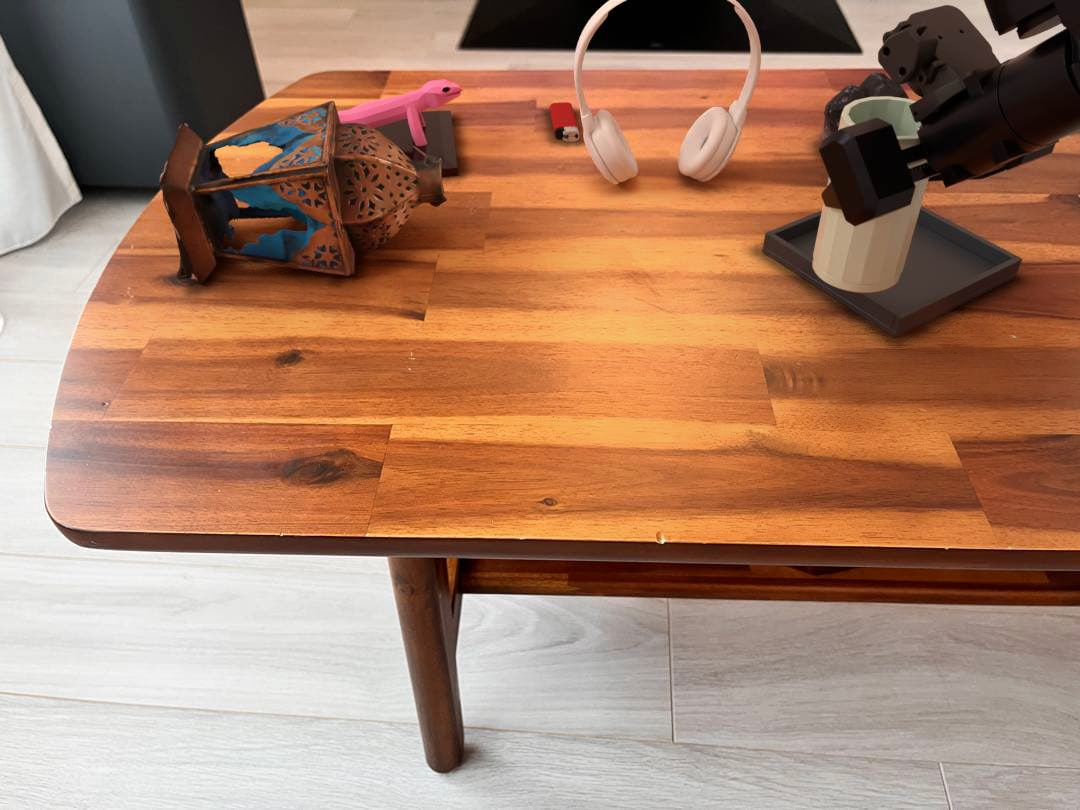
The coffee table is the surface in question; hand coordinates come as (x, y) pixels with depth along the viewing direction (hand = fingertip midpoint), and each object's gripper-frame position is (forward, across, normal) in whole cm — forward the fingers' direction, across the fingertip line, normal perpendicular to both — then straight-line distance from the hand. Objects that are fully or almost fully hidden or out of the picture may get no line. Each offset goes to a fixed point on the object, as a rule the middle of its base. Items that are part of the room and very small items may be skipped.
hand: (860, 187), depth 70 cm
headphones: (+29, -2, -11) cm, 31 cm away
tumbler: (+4, 0, +6) cm, 7 cm away
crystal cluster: (+23, -26, -5) cm, 35 cm away
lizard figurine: (+44, +21, -26) cm, 56 cm away
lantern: (+32, +35, -14) cm, 50 cm away
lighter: (+40, 0, -22) cm, 46 cm away
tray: (+11, -10, +6) cm, 17 cm away
